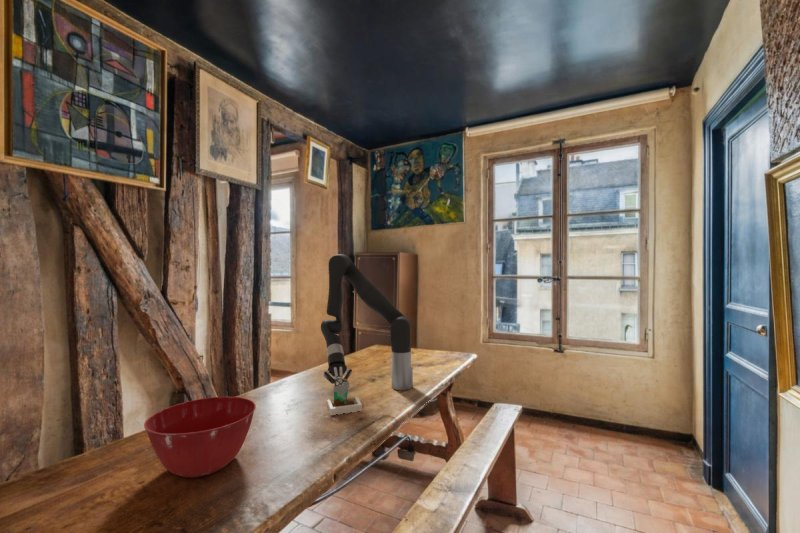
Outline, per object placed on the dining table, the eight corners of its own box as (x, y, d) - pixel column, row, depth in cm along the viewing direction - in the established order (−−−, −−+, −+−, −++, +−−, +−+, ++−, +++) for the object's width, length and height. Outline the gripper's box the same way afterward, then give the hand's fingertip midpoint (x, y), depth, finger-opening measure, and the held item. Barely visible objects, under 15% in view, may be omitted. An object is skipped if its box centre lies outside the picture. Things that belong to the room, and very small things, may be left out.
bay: (356, 401, 157) (356, 396, 157) (362, 411, 147) (362, 404, 147) (327, 405, 153) (327, 399, 153) (330, 415, 143) (330, 408, 143)
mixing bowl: (185, 441, 123) (185, 394, 123) (270, 441, 122) (270, 395, 122) (118, 494, 94) (117, 433, 94) (228, 495, 94) (227, 434, 93)
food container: (349, 411, 147) (349, 386, 147) (333, 412, 146) (333, 386, 146) (349, 400, 159) (349, 376, 159) (335, 400, 158) (335, 377, 158)
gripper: (321, 352, 166) (325, 388, 154) (350, 350, 170) (356, 385, 158) (320, 361, 171) (323, 397, 159) (348, 359, 175) (354, 393, 163)
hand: (340, 391), depth 159 cm, fingers closed
